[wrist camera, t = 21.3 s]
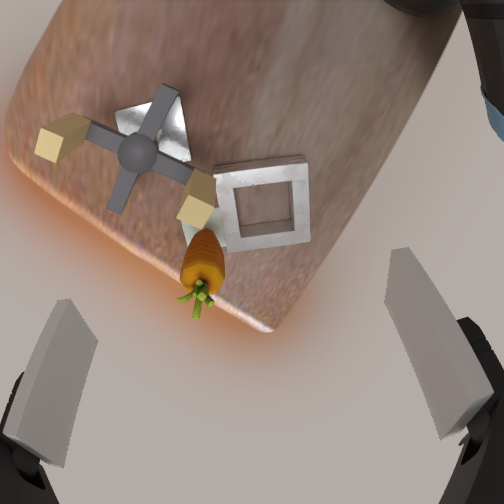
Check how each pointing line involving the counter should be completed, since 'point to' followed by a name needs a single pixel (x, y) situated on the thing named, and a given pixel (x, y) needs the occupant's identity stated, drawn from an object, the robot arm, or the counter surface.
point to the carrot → (202, 269)
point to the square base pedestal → (170, 133)
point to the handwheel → (135, 156)
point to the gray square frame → (256, 174)
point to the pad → (212, 224)
